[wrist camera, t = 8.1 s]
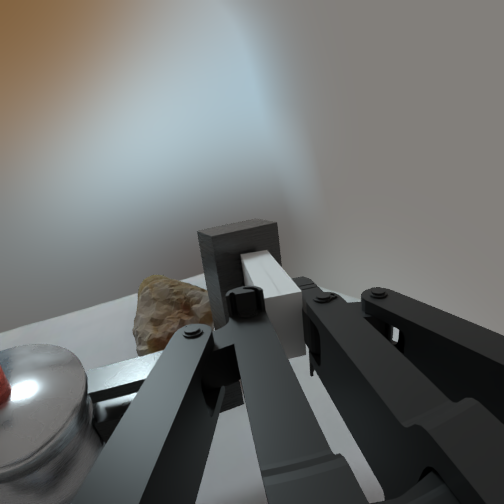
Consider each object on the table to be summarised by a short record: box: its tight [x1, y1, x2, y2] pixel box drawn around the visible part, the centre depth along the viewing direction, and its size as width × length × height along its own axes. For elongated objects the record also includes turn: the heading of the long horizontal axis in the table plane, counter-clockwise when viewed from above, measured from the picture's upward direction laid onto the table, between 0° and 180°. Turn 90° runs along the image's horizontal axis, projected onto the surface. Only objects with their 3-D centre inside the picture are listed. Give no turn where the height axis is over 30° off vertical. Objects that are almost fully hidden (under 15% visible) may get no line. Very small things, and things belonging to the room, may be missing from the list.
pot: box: [0, 380, 244, 504], centre depth 15 cm, size 26×13×9 cm, turn 116°
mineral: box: [133, 275, 214, 357], centre depth 42 cm, size 26×9×10 cm
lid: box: [0, 219, 282, 484], centre depth 14 cm, size 27×14×8 cm, turn 117°
